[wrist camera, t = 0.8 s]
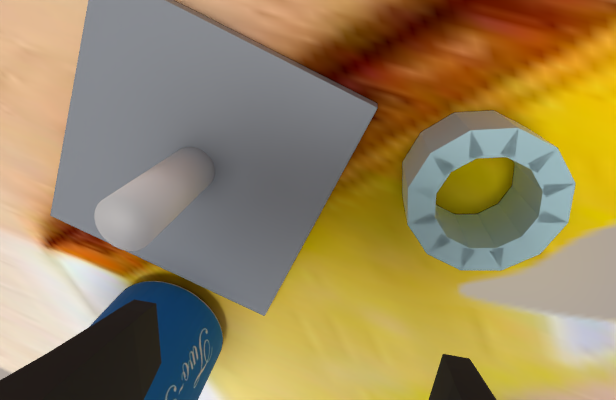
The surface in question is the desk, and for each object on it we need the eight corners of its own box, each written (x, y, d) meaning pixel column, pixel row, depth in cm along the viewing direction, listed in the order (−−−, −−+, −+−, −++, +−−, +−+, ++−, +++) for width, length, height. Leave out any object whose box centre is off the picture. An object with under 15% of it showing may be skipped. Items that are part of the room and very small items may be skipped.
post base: (377, 103, 16) (380, 147, 10) (268, 303, 21) (229, 408, 16) (110, -32, 16) (-45, -66, 10) (64, 207, 21) (-57, 278, 15)
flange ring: (570, 149, 16) (610, 175, 13) (486, 252, 18) (505, 292, 16) (448, 87, 16) (464, 100, 13) (379, 200, 18) (380, 231, 15)
